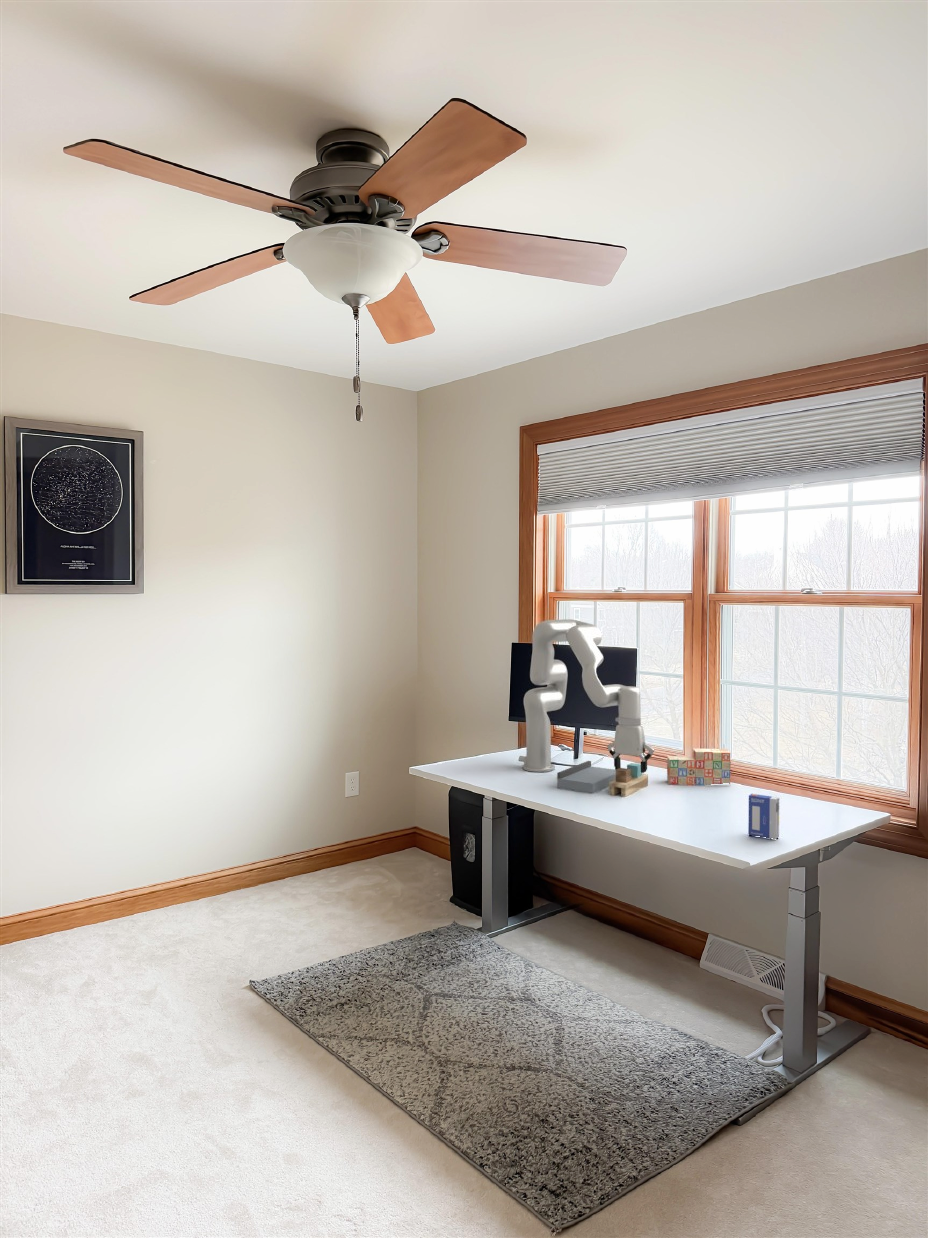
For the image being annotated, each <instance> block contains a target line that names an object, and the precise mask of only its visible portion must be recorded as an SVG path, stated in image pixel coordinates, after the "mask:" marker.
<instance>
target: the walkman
mask: <svg viewBox="0 0 928 1238" xmlns="http://www.w3.org/2000/svg"><path fill="white" fill-rule="evenodd" d="M747 828H748V834H749V835H752V836H751V837H753V836H760V837H766V838H773V839H776V838H778V837H779V838H780V797H778V796H772V795H764V794H757V793H750V794H749V795H748V827H747Z"/></svg>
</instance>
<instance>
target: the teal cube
mask: <svg viewBox="0 0 928 1238" xmlns="http://www.w3.org/2000/svg"><path fill="white" fill-rule="evenodd" d="M626 769H631V777H637V778H638V777H640V776H642V774H643V773H641V763H635V762H631V763H629V764H626Z"/></svg>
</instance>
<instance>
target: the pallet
mask: <svg viewBox="0 0 928 1238" xmlns="http://www.w3.org/2000/svg"><path fill="white" fill-rule="evenodd" d="M648 786H649V774H648V773H642V776H640V777H638V778H637V777H631V781H630V782H627V783H623V782H616V780H614V781H612V782H610V783H609V788H608V789H609V792H608V793H609V795H611V796H615V795H617V794H619V793H620V796H621V797H624V798H626V797H628V796H631V795H632V794H634V793H636V792H638V791H641V790H642V789H644V788H646V787H648Z"/></svg>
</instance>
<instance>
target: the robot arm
mask: <svg viewBox="0 0 928 1238" xmlns="http://www.w3.org/2000/svg"><path fill="white" fill-rule="evenodd" d="M531 639H532V654H531V662H530V669H529V670H530V671H529V678H530V681H531V683H532V684H534V685H535V686H545V687H536V688H532V689H529V690H528V691H526V692H525V694H524V697H523V706H524V707H523V708H524V713H525V726H526V727H525V730H526V731H525V734H526V736H525V737H526V739H525V741H526V743H525V744H526V745H525V746H526V747H525V748H526V749H525V751H526V754H525V755H526V756H524V755H519V756H518V762H521V763H522V762H523V764H522V770H525V771H527V772H534V773H544V772H551V771H554V770H555V768H556V766H555V765H554V764H552V759H551V758H552V755H551V754H552V751H551V750H552V741H551V739H552V733H551V732H552V731H551V729H552V727H551V721H550V720H551V719H550V717H549V715H548V714H547V713H548V712H552V711H557V710H560V709H562V708H563V706H564V704H565V701H566V695H567V687H568V686H567V685H568V669H567V666H566V664H565V663H564V661H562V660H560V659H555V648H554V645H553V643H564V642H567V644H568V646H569V647H570V648H571V651H572V652H573V654H574V655H575V657H576V658H577V660H578V662H579V664H580V665H581V667H582V674H581V679H582V686H583V689H584V691H585V693H586V694H587V696H588V698H589V699H590V701H591V702H592V704H594V705H595V706H596V707H599V708H607V707H615V706H616V707H617V706H618V716H617V717H615V718H614V719H615V723H618V725H617V724H616V727H615V732H614V741H613V742H611V743H608V744H606V748H607V750H608V751H609V754H610V755H611V756H612V758H613V765H614V766H613V767H614V770H617V769H619V768H622V766H621V765H622V764H621V757H620V756H621V755H623V756H632V757H637V756H638V757H639V758H640V759H641V761H640V764H641V773H642V774H645V773H646V772H647V771H648V761H649V759H650V758H651V757H652V756H653V754H654V752H655V748H654V747H651V746H650V745H648V744H647V743H646V738H645V731H644V727H643V726H642V724H641V723H642V721H641V720H642V718H641V715H642V714H641V690H640V688H639V687H637V686H634V685H633V686H631V685H630V686H628V685H627V686H626V685H623V684H620V683H619V684H618V683H617V684H616V683H615V684H613V683H612V684H606V685H603V684H602V682H601V680H600V679H599V678H598V674H597V668H599V666H600V665H601V664H602V663H603V661H604V655H603V653H602V652H601V650H600V649H599V647H598V646H599V645H600V644H601V642H602V640H603V635H602V632H601V630H600V628H599V627H598V626H596V625H595V624H592V623H588V622H584V621H581V620H577V619H571V618H568V619H567V618H566V619H548V620H547V619H546V620H543V621H540V622H539V623H538V624H536V625H535V627H534V628H533V631H532V636H531ZM546 685H547V686H546ZM646 750H647V751H648V752H647V754H646Z"/></svg>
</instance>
